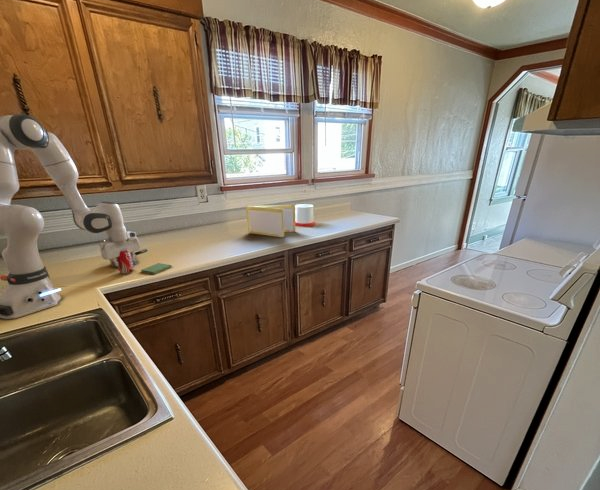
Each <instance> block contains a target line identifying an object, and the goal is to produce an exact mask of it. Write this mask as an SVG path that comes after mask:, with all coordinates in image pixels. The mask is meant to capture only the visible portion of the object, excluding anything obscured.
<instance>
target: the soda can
mask: <svg viewBox="0 0 600 490" xmlns="http://www.w3.org/2000/svg"><path fill="white" fill-rule="evenodd" d="M116 261H117V262H119V263H120V265H119V266H118V268H117V269H118V270H119V273H121V274H123V275H129V274H132V273H133V272H135V265H133V261H132V257H131V254H130V251H129V250H128V249H127V250H123V251H120V256H119V257H116Z"/></svg>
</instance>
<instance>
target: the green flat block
mask: <svg viewBox="0 0 600 490" xmlns="http://www.w3.org/2000/svg"><path fill="white" fill-rule="evenodd" d="M171 268H172V264H168V263H161V262H158V263H155V264H152V265H150V266H148V267H144V268H142V269H140V271H141V273H145V274H150V275H151V274H152V275H157V274H159V273H161V272H163V271H166V270H168V269H171Z"/></svg>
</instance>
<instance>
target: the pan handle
mask: <svg viewBox="0 0 600 490" xmlns="http://www.w3.org/2000/svg"><path fill="white" fill-rule="evenodd" d="M148 250H149V249H147V248H145V249H142V250H137V251H134V253H135V254H136V256H139V255H142V254H144V253H147V252H148Z"/></svg>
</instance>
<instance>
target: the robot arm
mask: <svg viewBox="0 0 600 490" xmlns="http://www.w3.org/2000/svg"><path fill="white" fill-rule="evenodd" d="M18 150H22V151H23V150H24V151H25V150H29V151H31V152H32V153H33V154H34V155H35V156H36V157H37V159H38V161H39V162H40V165H41V167H43V169H44V171H45V172H46V173H47V175H48V176H49V177H50V179H51V180H52V181H53V183H54V184H55V185H56V186H57V188H58V189H59V191H60V192H61V194H62V196H63V198H64V199H65V201H66V203H67V205H68V207H69V209H70V210H71V214H72V219H73V223H74V225H75V226H76V227H77V228H78V229H80V230H81V231H86V232H89V233H92V234H99V233H103V232H105V233H106V236H107V238H105V239H102V240H100V242H99V249H100V254H101V258H102V259H103V260H106V261H110V259H111V260H112V261H113V262H114V263H115V266H119V265H120V263H119V262H117V261H116V257H119V256H120V251H123V250H127V249H128V250H129V251H130V254H131V257H132V261H134V254H135V252H138V251H141V250H140V249H141V244H140V240H139V238H138V237H137V232H135V231H129V230H127V227H126V226H125V224H124V216H123V213H122V210H121V207H120V206H119V204H117V203H116V202H114V201H107V200H106V201H104V200H103V201H99V202H98V204H97V205H95V206H94V207H93V208H91V209H90V208H89V207H88V206H87V205H86V203H85V201H84V199H83V198H82V195H81V194H80V192H79V190H78V186H77V183H78V180H79V175H80V174H79V172H78V168H77V166H76V164H75V162H74V161H73V159H72V157H71V155H70V153H69V152H68V150H67V149H66V147H65V146H64V144H63V143H62V142H61V140H60V139H59V138H58V136H57V135H56V134H54V133H52V132H50V131H48V130H47V129H46V128H45V127H44V126H43V125H42V124H41V122H39V121H38V120H37V119H36V118H35V117H33V116H31V115H29V114H25V113H16V114H12V115H11V114H7V115H2V116H0V236H5V238H6V242H7V243H6V244H7V245H6V247H5V248H4V249H3V250H2V252H1V257H2V259H3V261H4V263H5V265H6V268H7V270H8V274H7V275H4V274H1V275H0V280H1V281H4V282H6V281H7V283H8V284H7V285H6V286H5V287H4V288H3V290H2V291H1V292H0V319H3V320H13V319H17V318H20V317H25V316H28V315H30V314H34V313H37V312H40V311H43V310H46V309H49V308H52V307H55V306H57V305H58V303H59V301H61V299H62V296H61V295H60V293H58V292H60V291H62V288H57V289H56V287H54V285H53V283H52V281H51V278H50V275H49V272H48V270H47V268H46V266H44V263H43V261H42V258H41V255H40V251H39V248H38V240H39V239H38V237H39V236H40V234H41V233H42V231H43V230H44V228H45V220H44V216H43V215H42V214H41V212H40V211H39V210H38V209H37V208H35V207H32V206H29V205H22V204H11V203H12V200H13V197H14V195H15V194H16V193H18V192H19V191H20V182H19V176H18V170H17V169H18V168H17V165H16V160H15V152H16V151H18Z"/></svg>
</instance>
